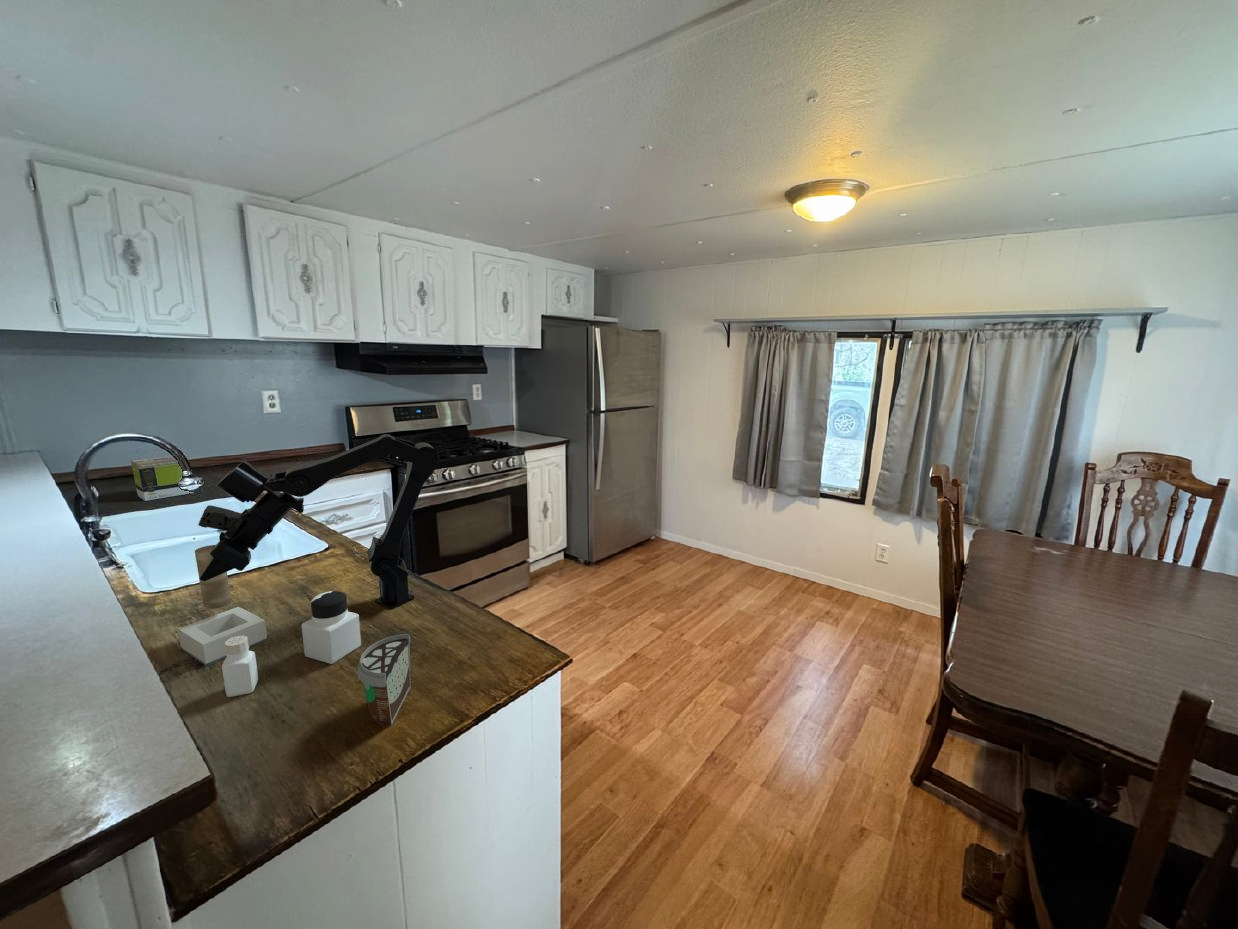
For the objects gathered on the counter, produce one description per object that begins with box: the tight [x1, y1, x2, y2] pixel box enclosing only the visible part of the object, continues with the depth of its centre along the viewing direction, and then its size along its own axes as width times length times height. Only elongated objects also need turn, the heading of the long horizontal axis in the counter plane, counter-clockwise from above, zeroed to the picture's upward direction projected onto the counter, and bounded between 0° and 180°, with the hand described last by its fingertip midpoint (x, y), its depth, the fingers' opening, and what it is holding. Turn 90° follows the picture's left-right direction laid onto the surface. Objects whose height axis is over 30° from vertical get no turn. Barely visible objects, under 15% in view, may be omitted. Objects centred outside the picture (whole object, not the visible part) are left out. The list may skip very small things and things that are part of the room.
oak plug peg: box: [194, 544, 232, 610], centre depth 101 cm, size 4×4×12 cm
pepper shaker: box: [221, 636, 259, 698], centre depth 86 cm, size 4×4×10 cm
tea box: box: [130, 455, 194, 502], centre depth 195 cm, size 15×10×15 cm, turn 144°
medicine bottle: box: [301, 590, 362, 665], centre depth 98 cm, size 7×7×12 cm
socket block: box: [177, 606, 268, 667], centre depth 99 cm, size 10×10×4 cm
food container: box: [356, 633, 412, 726], centre depth 83 cm, size 12×6×10 cm, turn 5°
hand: (204, 575), depth 100 cm, fingers closed on oak plug peg, 4 cm apart
